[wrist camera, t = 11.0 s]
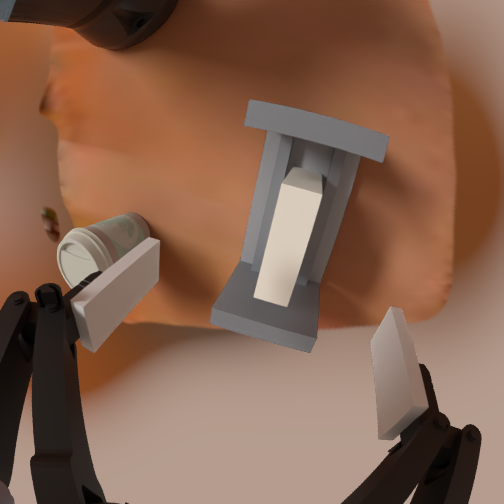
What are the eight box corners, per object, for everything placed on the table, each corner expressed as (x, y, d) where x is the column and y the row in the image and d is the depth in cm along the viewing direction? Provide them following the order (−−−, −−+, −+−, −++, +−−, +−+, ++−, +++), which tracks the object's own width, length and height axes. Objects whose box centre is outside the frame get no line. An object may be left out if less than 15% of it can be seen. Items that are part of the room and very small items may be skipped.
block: (293, 166, 29) (281, 183, 20) (321, 173, 28) (322, 194, 20) (272, 250, 33) (253, 297, 24) (297, 257, 33) (286, 307, 24)
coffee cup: (169, 231, 37) (115, 274, 26) (142, 269, 40) (93, 314, 30) (126, 190, 36) (63, 218, 25) (103, 231, 39) (48, 266, 29)
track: (273, 109, 28) (249, 99, 18) (365, 133, 26) (389, 136, 17) (239, 270, 37) (209, 323, 27) (315, 292, 35) (310, 353, 26)
